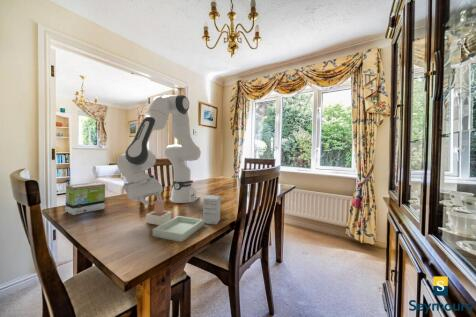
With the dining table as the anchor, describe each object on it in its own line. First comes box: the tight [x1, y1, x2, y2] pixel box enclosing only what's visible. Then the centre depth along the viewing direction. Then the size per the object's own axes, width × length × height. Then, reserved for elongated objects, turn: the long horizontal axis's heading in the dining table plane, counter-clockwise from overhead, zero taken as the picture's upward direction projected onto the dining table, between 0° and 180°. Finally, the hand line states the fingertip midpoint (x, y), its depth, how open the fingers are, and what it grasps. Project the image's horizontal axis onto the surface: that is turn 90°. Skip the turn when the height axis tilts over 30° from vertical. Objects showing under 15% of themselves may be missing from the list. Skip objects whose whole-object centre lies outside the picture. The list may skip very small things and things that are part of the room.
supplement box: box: [202, 194, 222, 225], centre depth 101 cm, size 7×7×13 cm
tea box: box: [64, 181, 106, 216], centre depth 111 cm, size 15×10×15 cm, turn 151°
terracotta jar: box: [153, 199, 165, 216], centre depth 99 cm, size 4×4×10 cm
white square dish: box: [145, 210, 172, 226], centre depth 99 cm, size 8×8×4 cm
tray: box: [152, 215, 205, 243], centre depth 88 cm, size 18×14×3 cm
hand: (154, 202), depth 99 cm, fingers open, 8 cm apart
